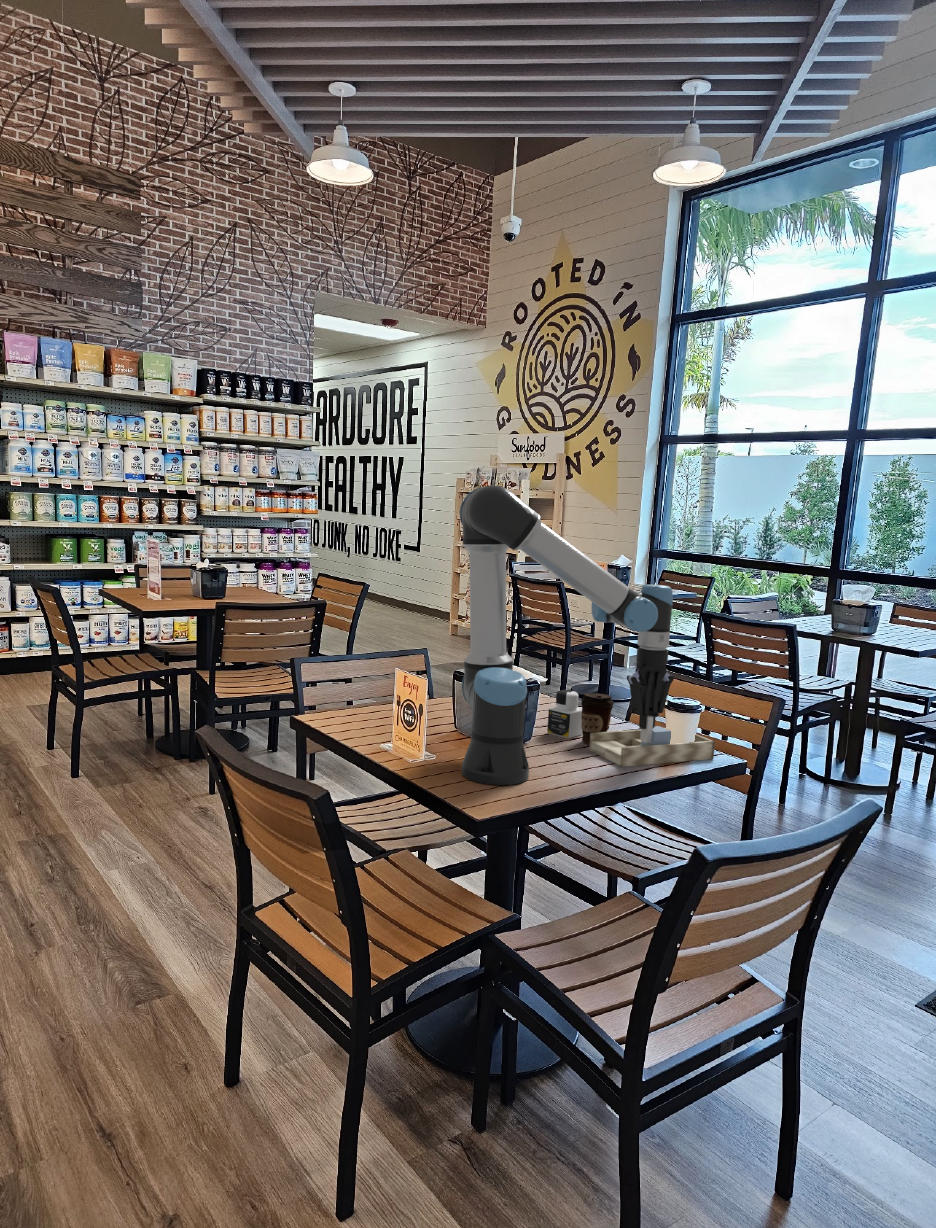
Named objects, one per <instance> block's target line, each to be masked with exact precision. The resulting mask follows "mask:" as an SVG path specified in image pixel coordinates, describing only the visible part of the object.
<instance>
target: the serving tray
mask: <svg viewBox="0 0 936 1228" xmlns="http://www.w3.org/2000/svg"><path fill="white" fill-rule="evenodd" d="M664 728H665V729H666V728H667V727H664ZM640 734H641V729H631V730H615V731H607V732H597V733H590V744H589V746H588V747H589V748H588V750H589V751H590V752H592V753H594V754H597V755H598V756H600V757H602V758H604V759H605V760H608V761H610V762H611V763H613V764H616V765H618V766H620V767H622V768H623V767H635V766H645V765H646V766H647V765H656V764H657V765H658V764H659V765H660V764H668V763H669V764H670V763H680V762H691V761H703V760H713V759H715V746H716V741H715V740H713V739H710V738H707V737H706V736H702V735H700V734H697V733H695V734H696V735H695V741H694V742H689V743H676V744H662V745H649V746H641V740H640Z"/></svg>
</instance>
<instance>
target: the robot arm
mask: <svg viewBox="0 0 936 1228" xmlns="http://www.w3.org/2000/svg"><path fill="white" fill-rule="evenodd" d="M459 518H460V522H461V525H462V547H464V548H465V550H467V551H468V553H469V624H470V625H469V627H470V628H469V629H470V631H469V634H470V635H469V636H470V637H469V638H470V645H469V646H470V647H469V648H470V652H469V653H468V655H467V656H466V657H465V658H463V661H464V664H463V665H464V668H463V669H464V671H463V672H464V673H463V674H464V675H463V676H462V682H461V693H462V696H463V699H464V700H465V702H466V703H467V705H468V706H469V707H470V708H471V710H472V722H471V724H472V725H471V738H470V741H469V744H468V747H467V749H466V753H465V755H464V757H463V760H462V763H461V775H462V777H464V778H466V779H467V780H469V781H473V782H474V783H475V782H476V783H480V784H485V785H492V786H493V785H495V786H511V785H517V784H521V783H524V782H526V781H527V780H528V779H529V775H530V766H529V761H528V758H527V753H526V750H525V746H524V731H525V715H526V704H527V701H526V700H527V694H528V688H527V679H526V677H525V676H524V675H523V673H521V672H519V671H516V670H514V666H513V665H514V663H513V662H514V661H513V660H514V659H513V658H512V657H511V655H509V653H508V652H507V556H506V555H507V551H508V550H509V549H511V550H512V551H514V552H515V551H521V552H522V553H524V554H526V555H527V556H528V557H530V558H531V559H532V560H533V561H535V562H536V563H538V564H540V565H541V566H542V567H543V568H544V569H546V570H548V571H549V572H550V573H551V574H553V575H554V576H556V577H557V578H559V580H561V581H562V582H564V583H566V584H567V585H569V586H570V587H571V588H572V589H573V590H575V591H576V592H578V593H579V594H581V595H582V596H583V597H585V598H586V599H587V600H589V601H590V602H591V616H592V619H593V620H594V621H595V622H598V623H605V624H607V623H610V624H611V623H613V624H617V625H619V626H622V627H625V628H627V629H629V630H631V631H632V632H638V634H637V645H638V646H639V647H637V649H636V659H635V660H636V663H637V666H636V667H635V671H634V673H633V674H631V675H630V674H629V675H627V676H626V680H627V682H628V685H629V691H630V697H631V698H630V699H631V704H632V705H631V706H632V712H633V713H634V714H637V715H639V719H638V720H639V721H638V727H639V728H640V730H641V734H640V740H641V741H643V742H646V743H651V741H652V729H653V728H654V727H655V726H656V718H658V717H659V716H660V715H659V714H663V712H664V709H665V706H666V702H667V698H668V695H669V691H670V688H671V685H672V683H673V681H674V680H675V675H672V674H670V673H668V669H667V667H666V665H667V664H668V661H669V660H668V659H669V650H668V649H667V648H669V647H670V638H671V637H670V634H671V620H672V610H673V605H674V603H673V600H674V599H673V596H674V595H673V592H674V591H673V589H672V588H671V586H669V585H664V584H663V585H661V584H643V585H642V587H641V590H640V591H639V592H635V590H633V589H632V588H630V587H628V586H627V584H625V583H624V582H622V581H621V580H619V579H618V578H617V577H616V576H614V575H613V574H611V573H610V572H609V571H607V570H606V568H604V567H602V566H601V565H600V564H598V563H596V561H594V560H593V559H591V558H590V557H589V556H588V555H586V554H584V553H583V552H582V551H580V550H579V549H578V548H576V547H575V546H574V545H572V544H571V542H569V541H567V540H565V538H563V537H562V536H561V535H559V534H557V533H556V531H554V530H553V529H551V528H550V527H549V526H547V525H546V524H544V523H542V521H541V516H540V514H539V513H537V512H536V511H535V510H534V509H532V508H531V507H530V506H528V504H526V502H524V501H523V500H522V499H520V498H519V497H518V496H517V495H516V494H515V493H514V492H512V491H511V490H510V489H507V488H506V487H504V486H500V485H495V484H494V485H493V484H492V485H487V486H480V487H477V488H475V489H473V490H472V491H470V492H469V493H467V494H466V496H465V497H464V498H463V501H462V503H461V505H460V507H459Z"/></svg>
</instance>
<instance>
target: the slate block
mask: <svg viewBox="0 0 936 1228" xmlns="http://www.w3.org/2000/svg"><path fill="white" fill-rule="evenodd" d="M665 728H666V727H662V726H660V725H655V727H654V728H653V729H652V741H651V743H646V742H643V741H641V746H649V745H662V744H670V740H671V731H670V730H667V729H665Z"/></svg>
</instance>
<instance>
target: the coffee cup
mask: <svg viewBox="0 0 936 1228" xmlns="http://www.w3.org/2000/svg"><path fill="white" fill-rule="evenodd" d="M612 698H613V697H612V696H611V695H610V694H605V693H592V692H591V693H590V692H587V693H584V694H583V697H582V698H581V709H582V714H581V720H582V723H581V728H582V738H581V742H582V743H584V744H587V745H590V733H597V732H608V730H609V729H610V723H611V719H612V718H611V715H612V710H613V706H614V701H613V700H612Z"/></svg>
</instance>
